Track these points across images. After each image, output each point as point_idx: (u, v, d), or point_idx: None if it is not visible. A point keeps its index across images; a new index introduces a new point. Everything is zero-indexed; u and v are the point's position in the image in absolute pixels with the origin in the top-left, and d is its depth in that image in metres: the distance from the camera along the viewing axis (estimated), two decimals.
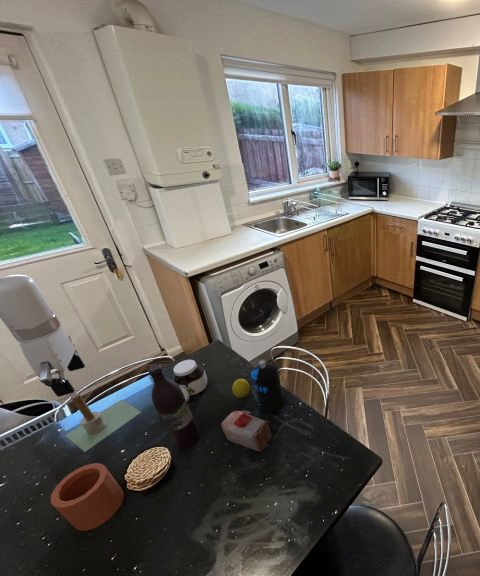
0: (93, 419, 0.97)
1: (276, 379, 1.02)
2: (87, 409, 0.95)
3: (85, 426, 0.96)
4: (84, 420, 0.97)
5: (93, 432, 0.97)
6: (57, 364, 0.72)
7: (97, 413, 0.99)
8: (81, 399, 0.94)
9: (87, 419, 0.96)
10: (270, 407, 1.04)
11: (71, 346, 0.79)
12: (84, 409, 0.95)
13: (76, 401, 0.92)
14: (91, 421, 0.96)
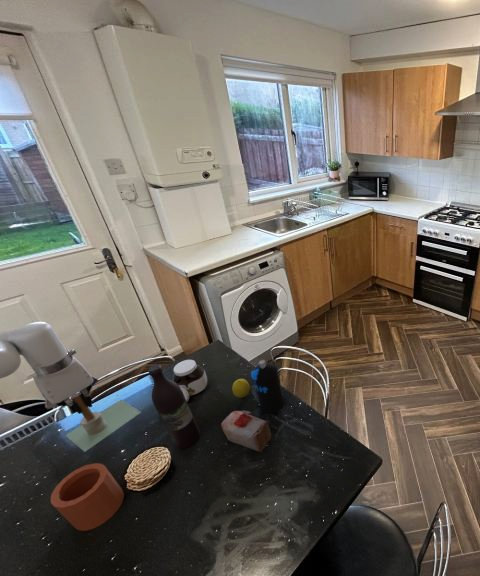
0: (93, 419, 0.97)
1: (276, 379, 1.02)
2: (87, 409, 0.95)
3: (85, 426, 0.96)
4: (84, 420, 0.97)
5: (93, 432, 0.97)
6: (48, 398, 0.86)
7: (97, 413, 0.99)
8: (81, 399, 0.94)
9: (87, 419, 0.96)
10: (270, 407, 1.04)
11: (85, 381, 0.92)
12: (84, 409, 0.95)
13: (76, 401, 0.92)
14: (91, 421, 0.96)
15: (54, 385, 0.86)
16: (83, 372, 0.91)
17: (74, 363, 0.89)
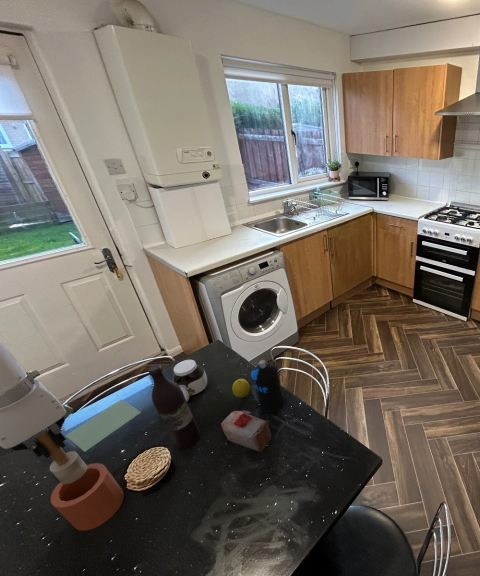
0: (67, 463, 0.71)
1: (276, 379, 1.02)
2: (58, 450, 0.70)
3: (56, 473, 0.70)
4: (55, 465, 0.71)
5: (68, 480, 0.72)
6: None
7: (73, 454, 0.73)
8: (49, 438, 0.68)
9: (59, 464, 0.70)
10: (270, 407, 1.04)
11: (54, 414, 0.66)
12: (53, 451, 0.69)
13: (42, 441, 0.67)
14: (65, 467, 0.70)
15: (6, 423, 0.60)
16: (51, 401, 0.65)
17: (37, 390, 0.63)
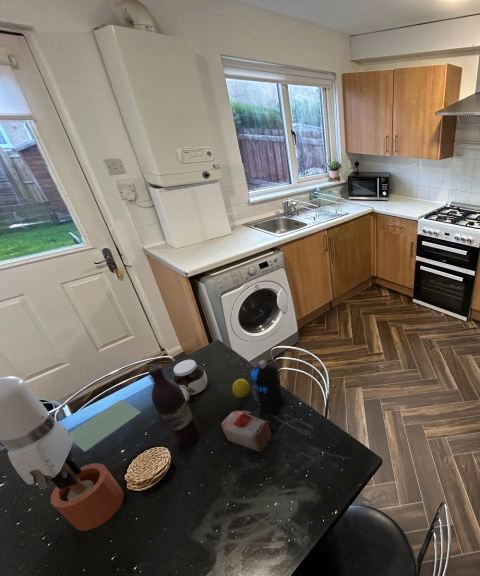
0: (88, 487, 0.76)
1: (276, 379, 1.02)
2: (77, 477, 0.74)
3: None
4: (75, 496, 0.74)
5: None
6: (48, 471, 0.65)
7: (83, 482, 0.77)
8: (68, 467, 0.72)
9: (80, 491, 0.75)
10: (270, 407, 1.04)
11: (68, 440, 0.72)
12: (75, 478, 0.73)
13: (66, 470, 0.71)
14: (90, 488, 0.76)
15: (49, 450, 0.65)
16: (63, 429, 0.71)
17: None
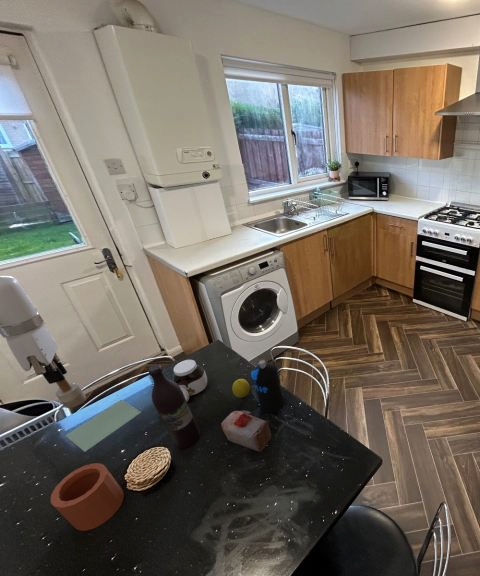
0: (74, 386, 0.89)
1: (276, 379, 1.02)
2: None
3: (72, 394, 0.88)
4: (63, 393, 0.87)
5: (81, 399, 0.90)
6: (42, 358, 0.78)
7: None
8: None
9: (67, 389, 0.88)
10: (270, 407, 1.04)
11: (54, 342, 0.85)
12: None
13: None
14: (76, 387, 0.89)
15: (42, 342, 0.79)
16: (49, 332, 0.84)
17: None
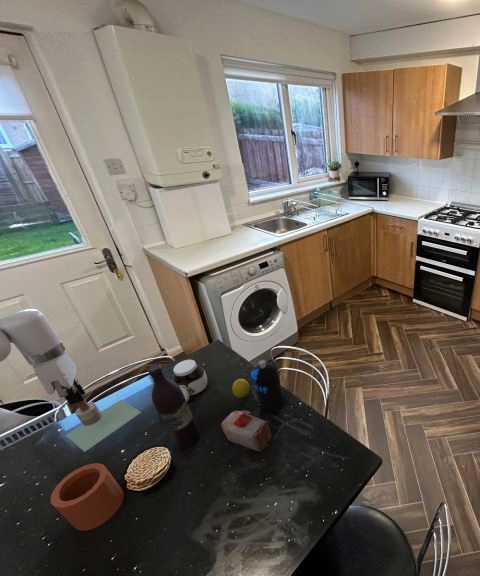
0: (91, 406, 0.96)
1: (276, 379, 1.02)
2: None
3: (90, 413, 0.95)
4: (82, 412, 0.94)
5: (98, 417, 0.97)
6: (65, 382, 0.86)
7: None
8: None
9: (86, 408, 0.95)
10: (270, 407, 1.04)
11: (74, 366, 0.92)
12: None
13: None
14: (93, 406, 0.96)
15: (64, 368, 0.86)
16: (69, 357, 0.91)
17: None
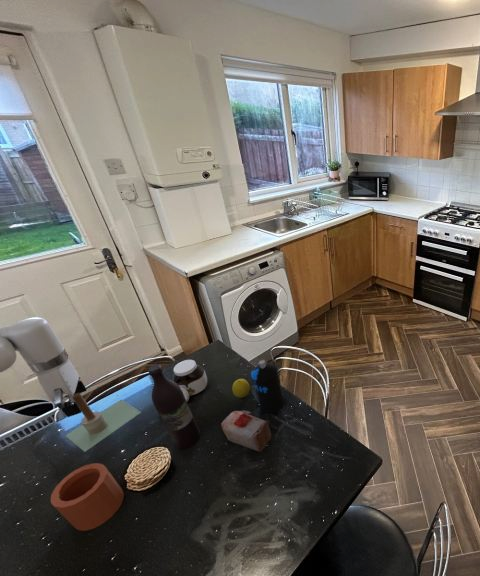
0: (97, 415, 0.98)
1: (276, 379, 1.02)
2: None
3: (96, 422, 0.97)
4: (88, 421, 0.96)
5: (103, 426, 0.99)
6: (67, 390, 0.87)
7: None
8: None
9: (92, 417, 0.97)
10: (270, 407, 1.04)
11: (76, 373, 0.93)
12: (88, 406, 0.96)
13: (81, 398, 0.93)
14: (99, 415, 0.98)
15: (67, 375, 0.87)
16: (71, 364, 0.92)
17: None
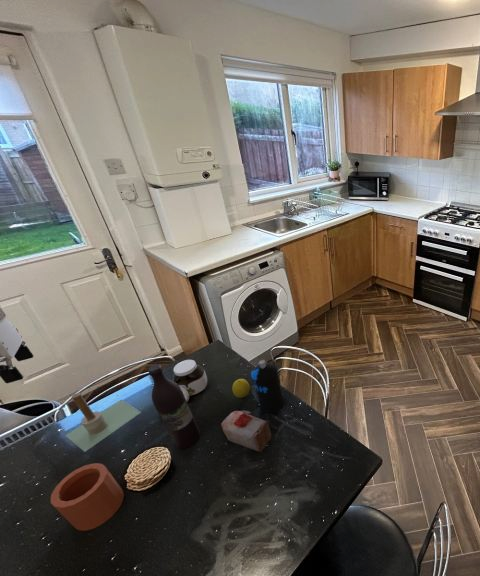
0: (97, 415, 0.98)
1: (276, 379, 1.02)
2: None
3: (96, 422, 0.97)
4: (88, 421, 0.96)
5: (103, 426, 0.99)
6: (4, 352, 0.77)
7: None
8: None
9: (92, 417, 0.97)
10: (270, 407, 1.04)
11: (18, 336, 0.84)
12: (88, 406, 0.96)
13: (81, 398, 0.93)
14: (99, 415, 0.98)
15: (3, 336, 0.78)
16: (12, 326, 0.83)
17: None
